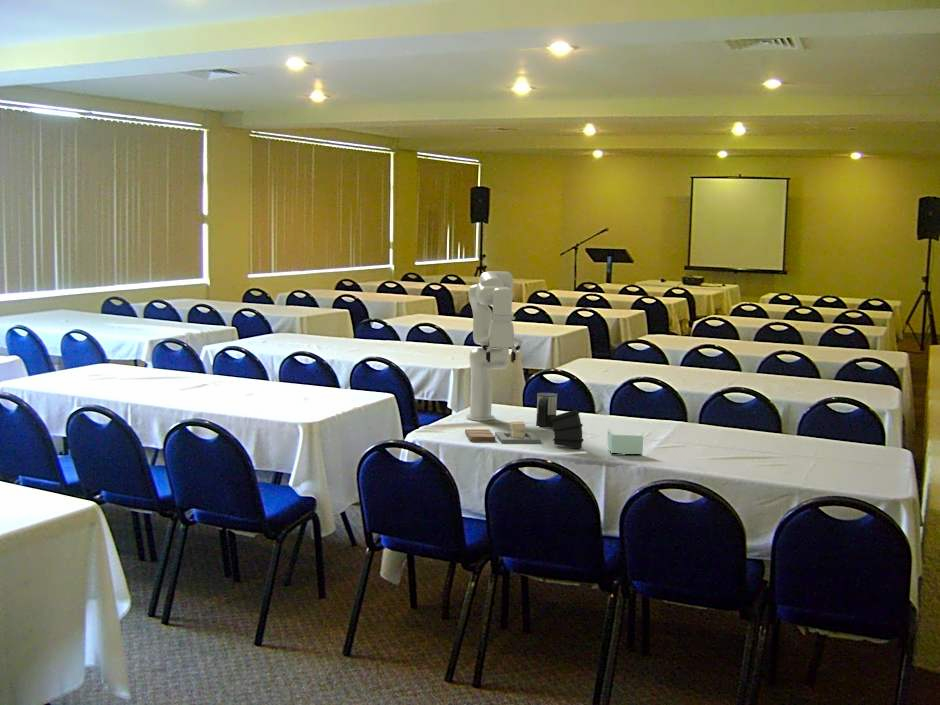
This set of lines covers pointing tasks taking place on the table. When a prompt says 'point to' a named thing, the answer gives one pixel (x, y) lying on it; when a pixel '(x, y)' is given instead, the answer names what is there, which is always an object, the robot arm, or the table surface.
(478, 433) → the walnut board
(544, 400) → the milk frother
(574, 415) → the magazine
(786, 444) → the table surface
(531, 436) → the pocket plate
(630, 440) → the right angle wall
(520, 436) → the maple block
